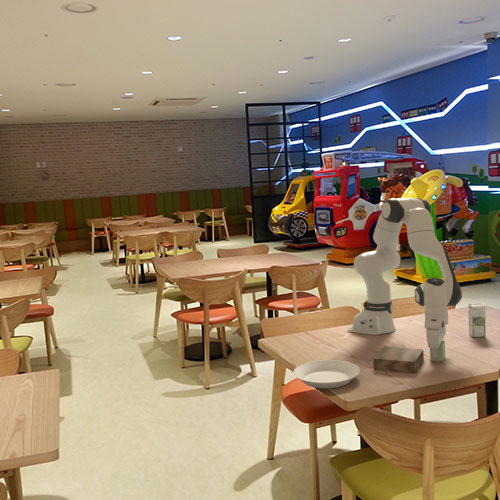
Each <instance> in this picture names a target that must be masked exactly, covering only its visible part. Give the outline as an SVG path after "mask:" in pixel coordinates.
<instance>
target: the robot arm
mask: <svg viewBox="0 0 500 500" xmlns="http://www.w3.org/2000/svg"><path fill="white" fill-rule="evenodd" d="M380 212H381V213H380V215H379V217H378V220H377V223H376V225H375V228H374V232H373V235H372V238H373V239H372V240H373V241H374V243H375V244H376V245H377V246H376V248H375V250H372V251H365V252H362V253H360V254H359V255H356V257H355V258H354V261H353V268H354V270H355V272H356V273H357V274H358V275H359V276H361V277H362V279H363V281H364V283H365V288H366V298H367V299H366V300H365V301H364V302H363V304H362V308H363V309H362V310H361V311H359V312H358V313H357V314H356V315H354V317H353V319H352V324H350V325H349V326H348V329H347V331H348V332H349V333H359V334H364V335H372V336H378V335H382V334H390V333H393V332H394V331H396V329H397V328H396V325H395V323H394V318H393V301H392V299H391V298H392V295H391V285H390V283H388V282H387V281H385V280H384V278H383V273H386V272H390V271H393V270H394V269H396V268H398V267H399V266H400V265H401V256H400V253H399V251H398V250H397V242H398V239H399V236H400V233H401V230H402V226H403V224H405V226H406V234H407V235H406V236H407V241H408V246H409V248H410V249H411V250H412V252H414V253H415V254H418V255H420V256H424V257H426V258H429V259H431V260H432V259H433V260H434V261H436V262H437V263H438V266H439V268H440V271H441V275H442V277H443V279H442V278H438V277H431V278H428V279H426V280H425V281H424V283H421V284H418V285H417V286H416V288H415V289H414V299H415V303H417V304H418V306H420V307H424V308H425V310H424V329H426V331H425V332H426V333H425V334H426V343H427V347H428V348H429V349H430V348H432V352H433V356H434V357H437V356H438V347H439V345H440V343H441V342H442V341H444V338H445V337H446V335H447V334H446V333H447V329H446V326H448V325H449V311H448V307H455V306H457V304H458V303H460V301H461V300H462V298H463V293H462V289H461V287H460V284H459V282H458V279H457V277H456V274H455V271H454V268H453V265H452V262H451V259H450V256H449V253H448V251H447V248H446V247H445V245H444V244H442V243H440V241H439V240H438V239H437V237H436V233H435V228H434V223H433V222H434V221H433V219H432V216H431V205H430V202H429V201H427V200H425V199H423V198H413V197H398V198H395V197H393V198H388V199H386V200H384V202H383V203H382V205H381V211H380Z"/></svg>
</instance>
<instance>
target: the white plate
mask: <svg viewBox="0 0 500 500" xmlns="http://www.w3.org/2000/svg"><path fill="white" fill-rule="evenodd" d="M360 372H361V370H360V367H359V366H357V365H356V364H354V363H352V362H348V361H345V360H338V359H337V360H336V359H335V360H334V359H323V360H321V359H320V360H313V361H309V362H305V363H303V364H299V365H298V366H296V367H295V368H294V370H293V372H292V373H293V375H294V376H295V378H297V379H298V380H300V381H301V382H302V383H303V384H305V385H306V386H308V387H312V388H316V389H335V388H339V387H343V386H346V385H348V384H349V383H351V381H352V380H353V379H354V378H355V377H357V376H358V375H359V374H360Z"/></svg>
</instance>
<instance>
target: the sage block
mask: <svg viewBox="0 0 500 500" xmlns="http://www.w3.org/2000/svg"><path fill="white" fill-rule="evenodd" d="M429 355H430V357H429V358H430V359H429V360H430V361H431V362H433V361H434V362H444V361H445V360H446V341H445V340H443V341H442V342H441V343H440V345H439V347H438V356H437V357H434V356H433V352H432V348H429Z"/></svg>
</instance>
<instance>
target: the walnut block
mask: <svg viewBox="0 0 500 500" xmlns="http://www.w3.org/2000/svg"><path fill="white" fill-rule="evenodd" d="M424 358H425V357H424V348H414V347H413V348H411V347H410V348H408V347H398V346H396V347H395V346H382V348H381V349H380V350H379V352H377V354H376V355H375V356H374V357H373V358H372V359H373V363H372V364H373V370H374V369H375V370H374V371H384V372H394V373H396V372H397V373H406V374H417V373H418V371H419V369H420V367H421V365H422V364H423V362H425V361H424Z"/></svg>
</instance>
